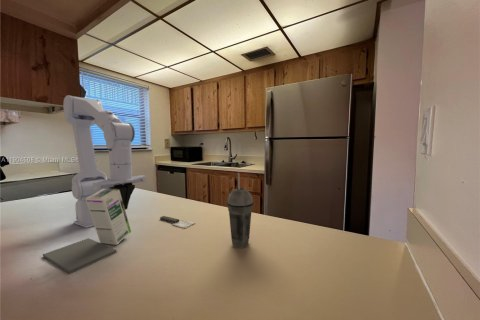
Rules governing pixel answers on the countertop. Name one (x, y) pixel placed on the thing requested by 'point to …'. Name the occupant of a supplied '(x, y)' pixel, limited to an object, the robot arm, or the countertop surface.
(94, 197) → the syrup box
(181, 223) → the spatula
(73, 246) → the mat
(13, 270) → the countertop surface
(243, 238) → the beverage cup
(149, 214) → the countertop surface
